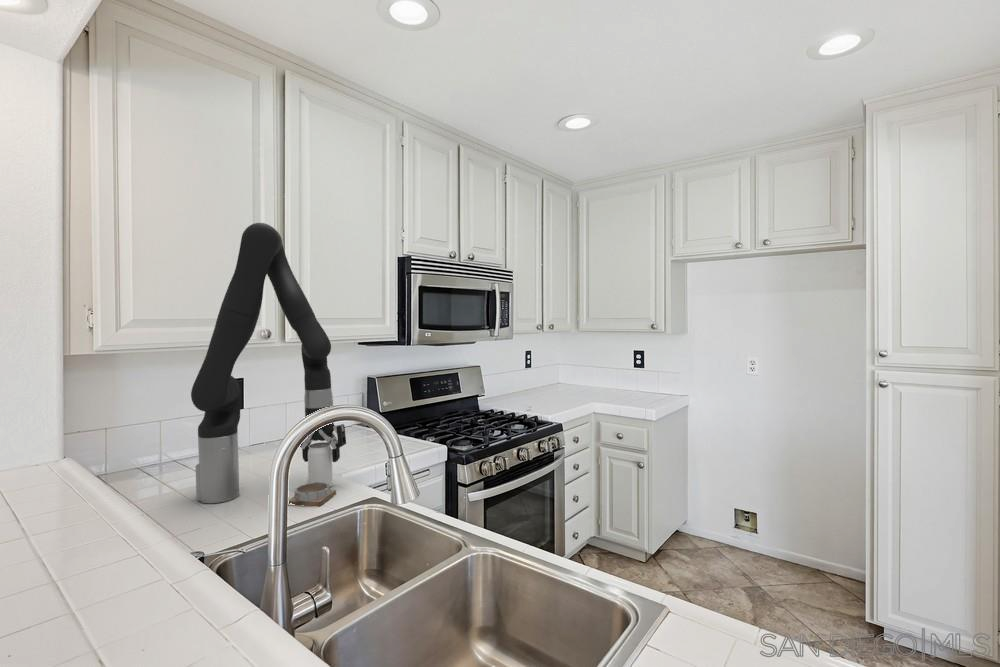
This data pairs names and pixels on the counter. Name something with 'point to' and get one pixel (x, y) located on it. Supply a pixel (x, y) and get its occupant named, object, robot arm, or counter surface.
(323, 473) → the can
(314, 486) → the collar
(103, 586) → the counter surface
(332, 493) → the board
